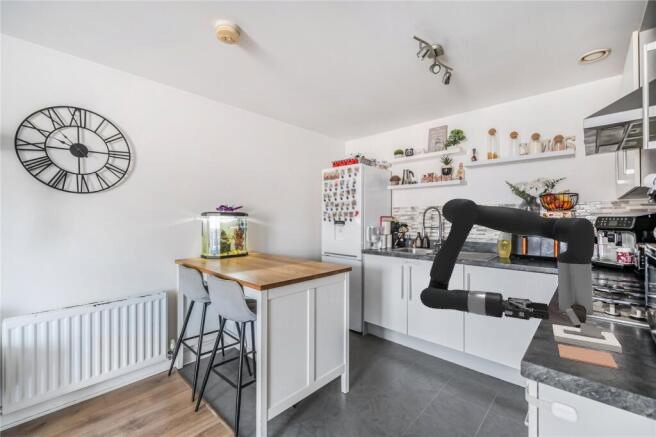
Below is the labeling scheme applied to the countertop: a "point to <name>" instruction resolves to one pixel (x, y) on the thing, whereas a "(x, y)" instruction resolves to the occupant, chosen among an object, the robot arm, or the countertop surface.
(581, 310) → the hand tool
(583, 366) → the countertop surface
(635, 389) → the countertop surface
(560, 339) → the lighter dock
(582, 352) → the mat
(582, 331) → the lighter
